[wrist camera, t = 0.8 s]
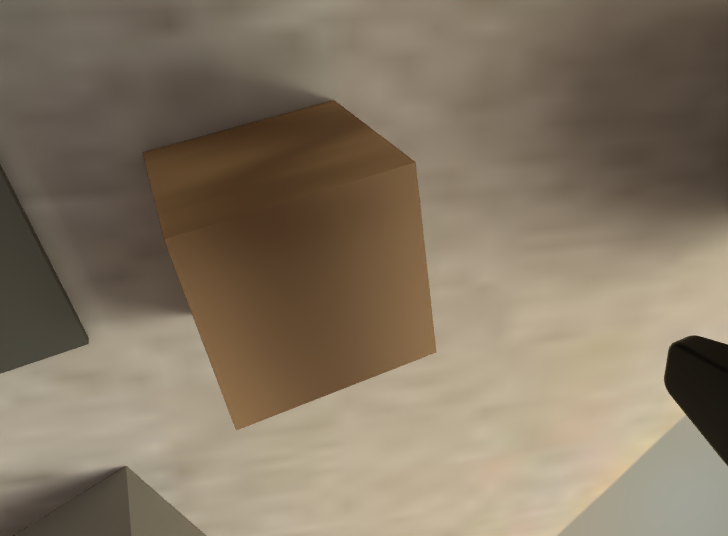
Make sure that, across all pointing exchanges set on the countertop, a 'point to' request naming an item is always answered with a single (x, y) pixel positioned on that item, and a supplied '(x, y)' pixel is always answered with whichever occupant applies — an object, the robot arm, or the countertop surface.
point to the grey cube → (115, 512)
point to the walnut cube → (296, 255)
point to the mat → (30, 293)
